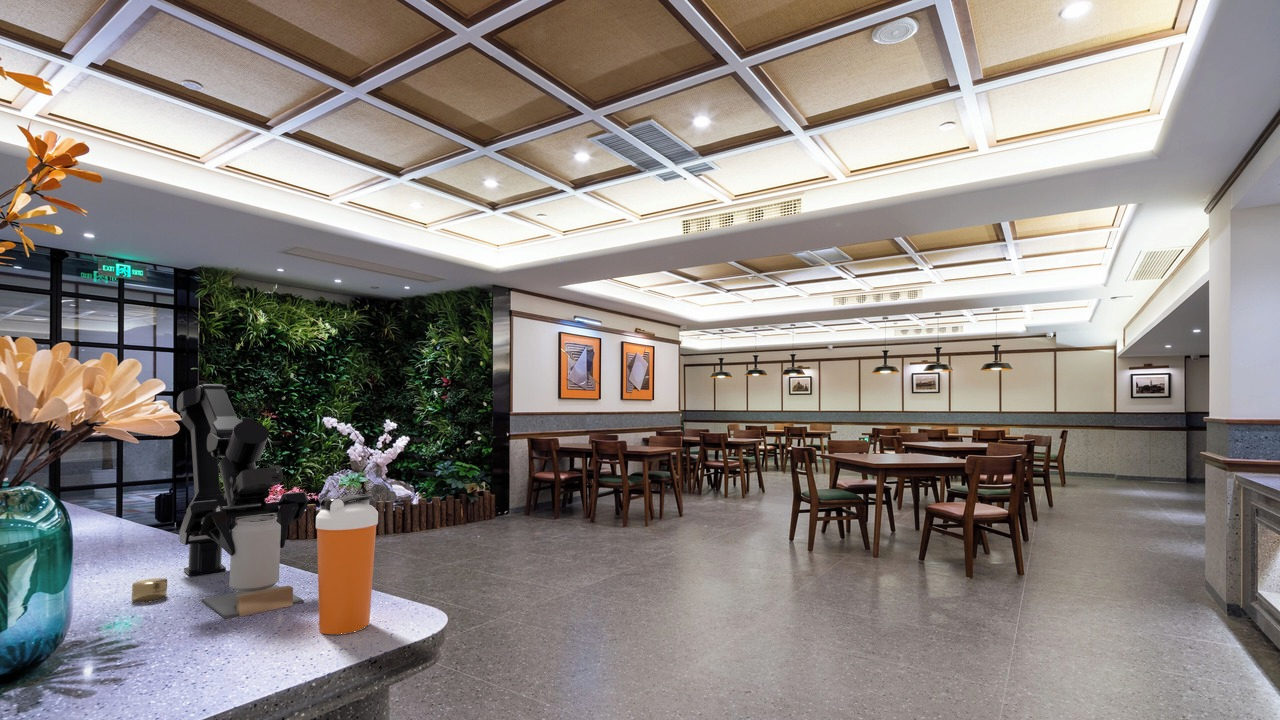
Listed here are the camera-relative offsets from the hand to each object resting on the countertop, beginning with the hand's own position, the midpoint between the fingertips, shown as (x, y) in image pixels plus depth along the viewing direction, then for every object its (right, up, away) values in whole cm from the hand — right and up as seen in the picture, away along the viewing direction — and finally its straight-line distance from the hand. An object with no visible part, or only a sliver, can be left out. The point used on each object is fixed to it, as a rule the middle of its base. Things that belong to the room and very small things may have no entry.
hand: (258, 550), depth 114 cm
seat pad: (-1, -9, 0) cm, 9 cm away
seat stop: (+3, -9, -4) cm, 10 cm away
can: (-1, -7, +1) cm, 7 cm away
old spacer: (-21, -10, +3) cm, 24 cm away
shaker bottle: (+21, -8, -13) cm, 26 cm away
